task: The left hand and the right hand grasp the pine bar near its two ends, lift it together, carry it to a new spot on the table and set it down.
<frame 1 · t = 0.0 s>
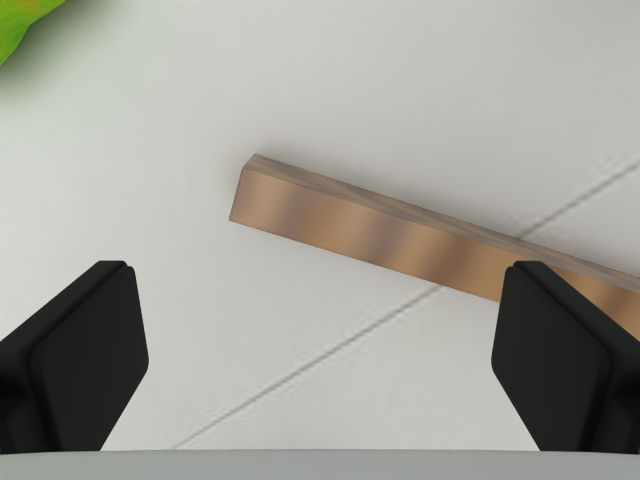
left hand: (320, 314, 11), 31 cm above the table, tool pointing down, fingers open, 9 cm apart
bar: (510, 260, 44), on the table
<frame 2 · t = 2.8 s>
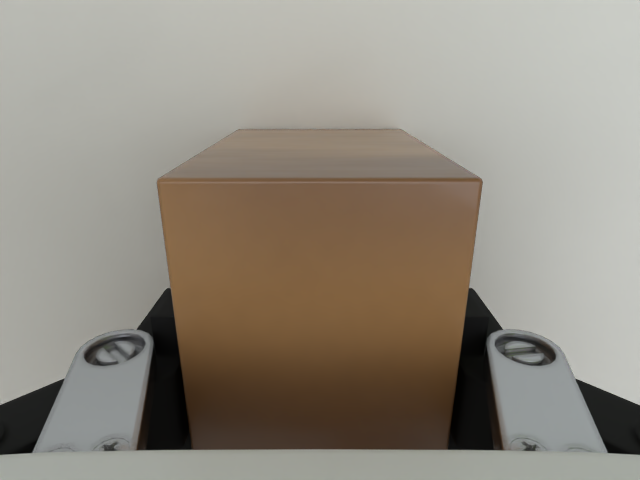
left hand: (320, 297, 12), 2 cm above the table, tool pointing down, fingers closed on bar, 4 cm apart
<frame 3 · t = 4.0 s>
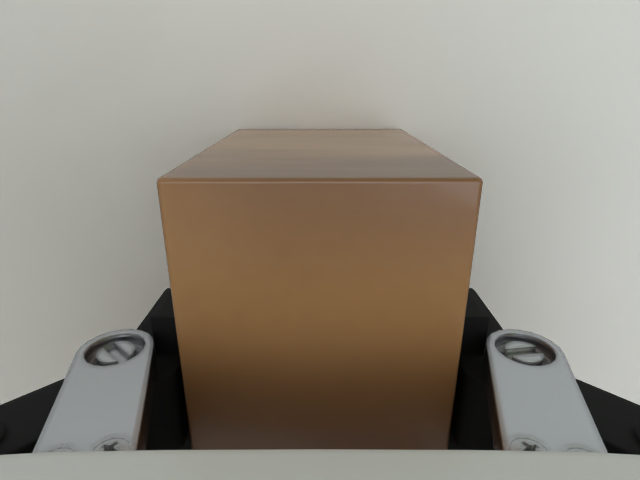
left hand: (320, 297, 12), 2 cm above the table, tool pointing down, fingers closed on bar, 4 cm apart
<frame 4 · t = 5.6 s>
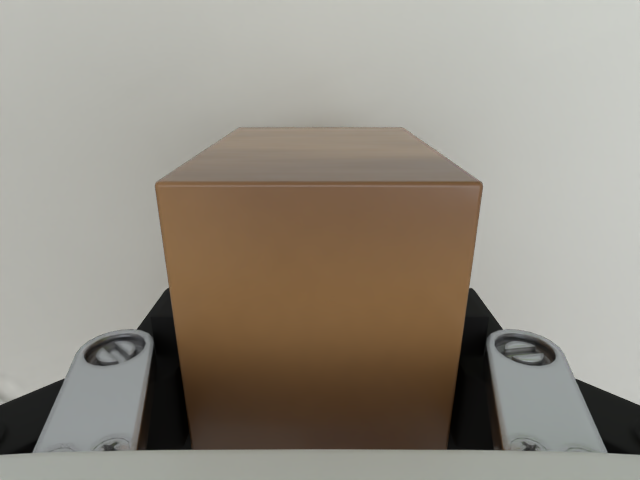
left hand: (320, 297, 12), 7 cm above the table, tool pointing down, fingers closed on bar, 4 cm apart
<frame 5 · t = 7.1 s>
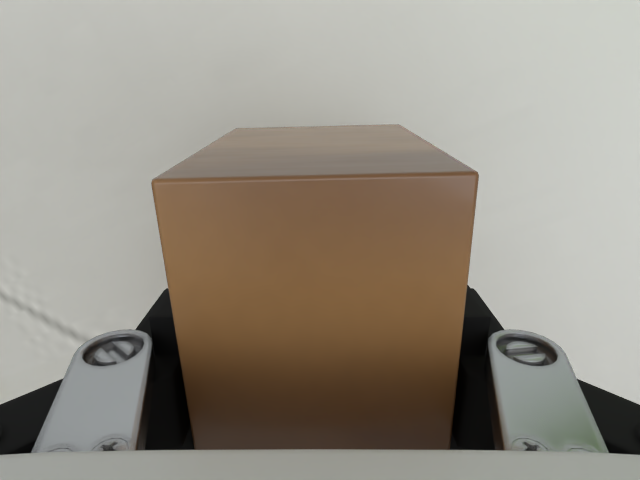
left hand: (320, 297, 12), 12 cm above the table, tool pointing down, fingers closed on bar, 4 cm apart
when the right hand's fingers open (2 cm above the table, at t = 8.6 s): bar drops 1 cm, on the table.
when the left hand's fingers open (4 cm above the table, at t = 8.7 s): bar drops 1 cm, on the table.
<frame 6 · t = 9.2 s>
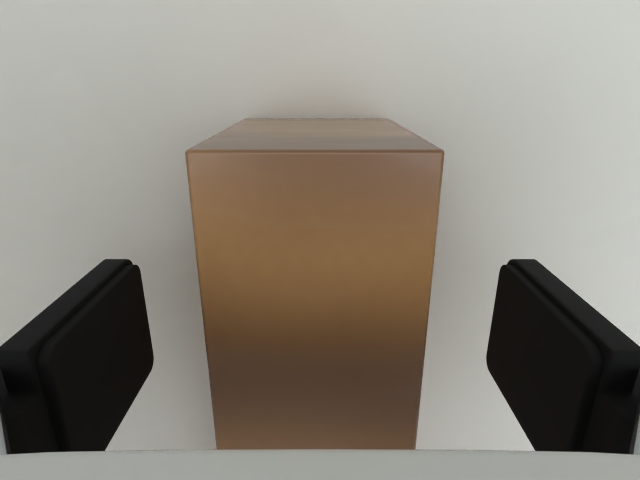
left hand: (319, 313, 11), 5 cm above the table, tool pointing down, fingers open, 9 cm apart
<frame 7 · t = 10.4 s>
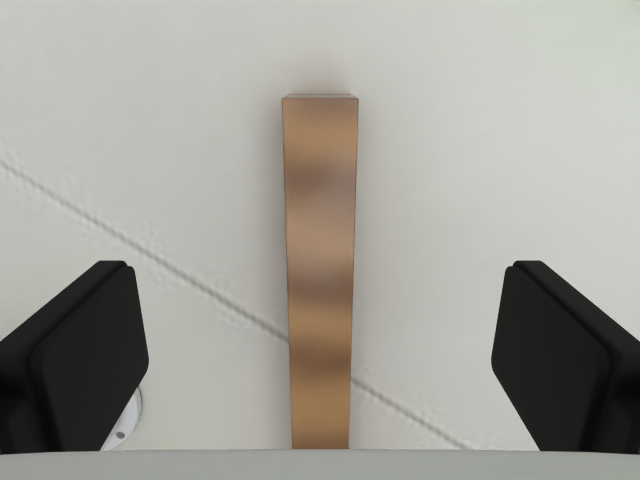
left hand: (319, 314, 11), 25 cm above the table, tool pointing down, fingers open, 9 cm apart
bar: (320, 394, 42), on the table
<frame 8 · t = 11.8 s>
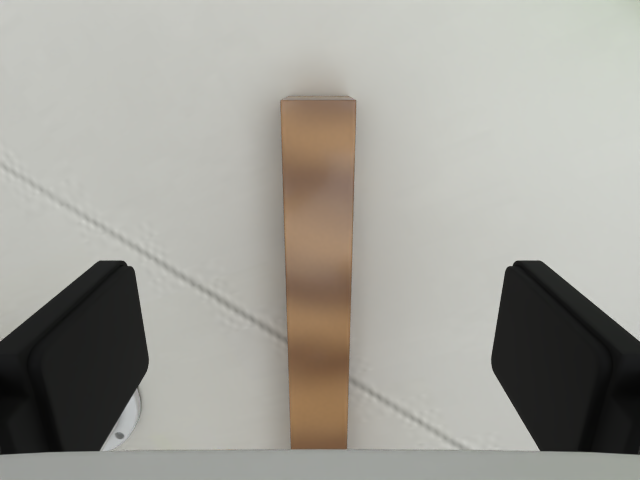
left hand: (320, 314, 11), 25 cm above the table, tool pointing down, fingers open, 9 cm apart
bar: (318, 394, 42), on the table
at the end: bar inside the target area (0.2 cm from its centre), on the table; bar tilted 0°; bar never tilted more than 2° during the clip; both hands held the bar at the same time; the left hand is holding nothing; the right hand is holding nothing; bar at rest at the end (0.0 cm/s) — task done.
